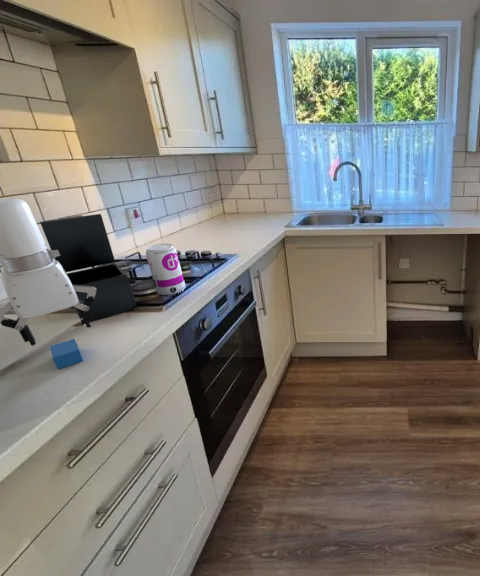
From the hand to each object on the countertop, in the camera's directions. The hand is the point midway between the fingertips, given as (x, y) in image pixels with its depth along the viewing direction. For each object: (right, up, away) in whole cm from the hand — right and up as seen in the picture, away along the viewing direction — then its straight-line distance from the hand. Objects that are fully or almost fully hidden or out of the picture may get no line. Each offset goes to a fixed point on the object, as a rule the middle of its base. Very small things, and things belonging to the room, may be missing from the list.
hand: (62, 333), depth 80 cm
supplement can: (+3, +9, +37) cm, 38 cm away
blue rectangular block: (0, -6, +2) cm, 6 cm away
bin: (-10, +4, +26) cm, 28 cm away
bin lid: (-14, +23, +22) cm, 35 cm away
